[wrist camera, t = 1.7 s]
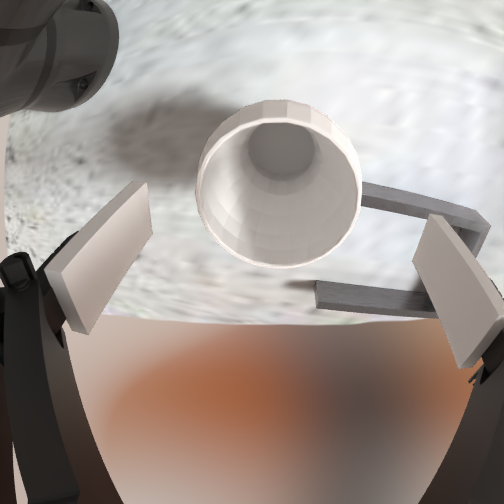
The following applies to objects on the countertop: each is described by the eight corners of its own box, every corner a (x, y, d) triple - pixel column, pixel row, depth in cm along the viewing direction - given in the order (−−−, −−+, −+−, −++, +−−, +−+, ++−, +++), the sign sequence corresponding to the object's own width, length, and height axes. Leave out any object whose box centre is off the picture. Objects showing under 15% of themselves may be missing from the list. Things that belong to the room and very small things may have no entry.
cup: (292, 206, 33) (294, 300, 20) (211, 153, 30) (157, 219, 18) (353, 133, 27) (406, 188, 15) (267, 71, 25) (250, 66, 12)
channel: (314, 287, 39) (316, 308, 35) (342, 177, 30) (349, 192, 27) (432, 299, 38) (441, 318, 35) (475, 210, 29) (490, 225, 26)
